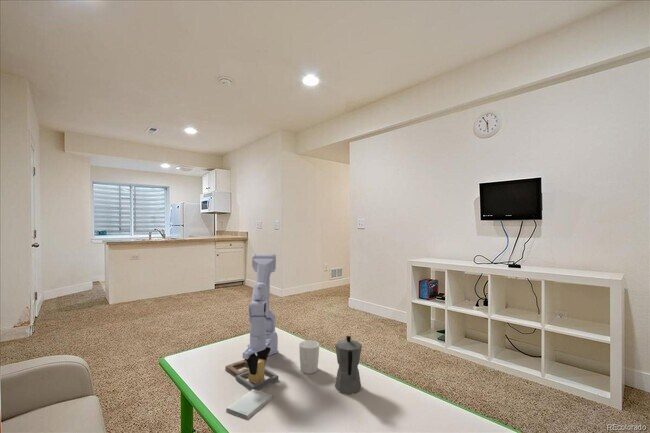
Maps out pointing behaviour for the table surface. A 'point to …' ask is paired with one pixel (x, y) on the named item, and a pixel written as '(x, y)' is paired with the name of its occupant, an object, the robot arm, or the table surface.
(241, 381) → the gray square frame
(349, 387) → the coffeepot
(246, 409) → the hard drive
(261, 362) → the peg
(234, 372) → the socket block
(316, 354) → the white cup
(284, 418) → the table surface
